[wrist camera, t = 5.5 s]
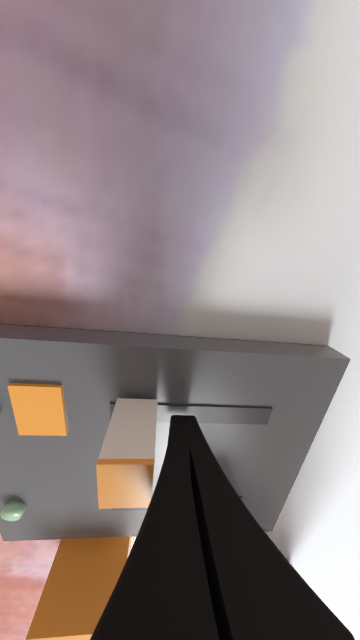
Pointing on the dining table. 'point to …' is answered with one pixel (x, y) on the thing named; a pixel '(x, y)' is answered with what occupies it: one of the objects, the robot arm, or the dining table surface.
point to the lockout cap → (79, 587)
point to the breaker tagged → (128, 455)
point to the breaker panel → (173, 399)
